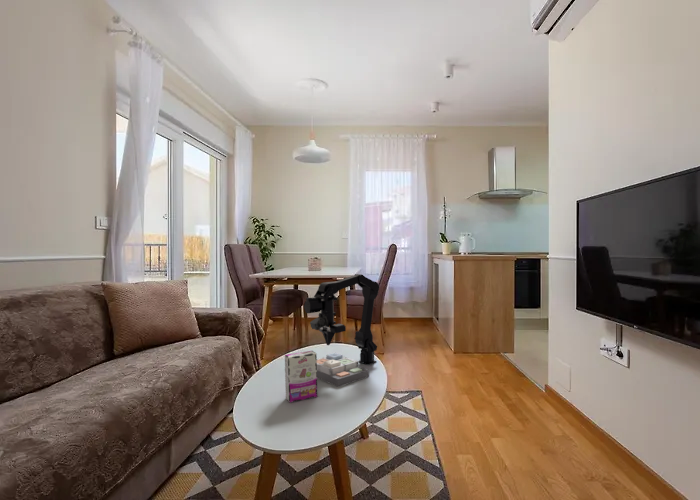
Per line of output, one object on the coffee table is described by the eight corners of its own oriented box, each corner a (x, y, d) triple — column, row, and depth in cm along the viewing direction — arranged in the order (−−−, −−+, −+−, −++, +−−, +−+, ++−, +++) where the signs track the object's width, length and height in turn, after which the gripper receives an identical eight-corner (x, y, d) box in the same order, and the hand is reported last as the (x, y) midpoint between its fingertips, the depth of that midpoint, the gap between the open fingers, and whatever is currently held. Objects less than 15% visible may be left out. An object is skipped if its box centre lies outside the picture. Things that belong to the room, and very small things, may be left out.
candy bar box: (312, 392, 142) (312, 350, 142) (317, 397, 137) (317, 353, 137) (284, 398, 136) (284, 354, 136) (288, 403, 132) (288, 357, 132)
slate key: (335, 357, 172) (335, 352, 172) (342, 359, 168) (342, 354, 168) (326, 359, 168) (326, 354, 168) (333, 361, 164) (333, 357, 164)
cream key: (333, 363, 162) (332, 359, 162) (340, 366, 158) (340, 361, 158) (323, 366, 158) (323, 361, 158) (331, 369, 154) (331, 364, 154)
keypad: (336, 365, 175) (336, 353, 175) (368, 376, 159) (368, 364, 159) (306, 373, 164) (306, 361, 164) (338, 386, 147) (338, 373, 147)
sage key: (345, 363, 166) (345, 358, 166) (353, 366, 163) (353, 361, 163) (336, 365, 163) (336, 361, 163) (344, 368, 159) (344, 363, 159)
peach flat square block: (323, 363, 167) (323, 358, 167) (330, 365, 163) (330, 361, 163) (313, 365, 164) (313, 361, 164) (320, 368, 160) (320, 363, 160)
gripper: (300, 310, 168) (301, 344, 168) (326, 315, 154) (327, 352, 154) (320, 307, 175) (321, 340, 176) (346, 312, 161) (347, 347, 162)
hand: (328, 345), depth 167 cm, fingers closed
